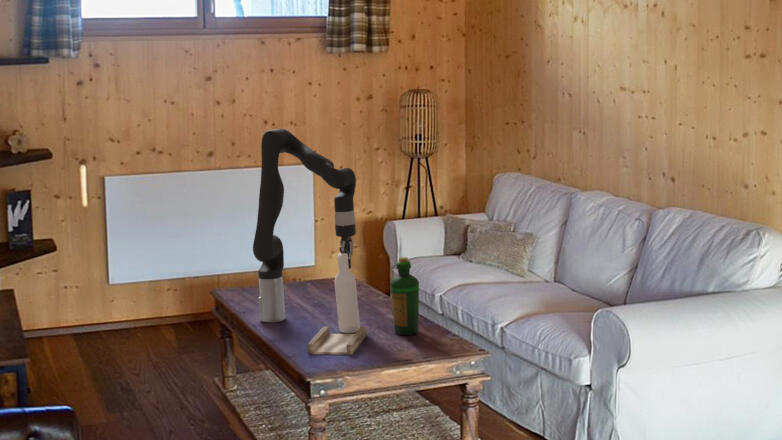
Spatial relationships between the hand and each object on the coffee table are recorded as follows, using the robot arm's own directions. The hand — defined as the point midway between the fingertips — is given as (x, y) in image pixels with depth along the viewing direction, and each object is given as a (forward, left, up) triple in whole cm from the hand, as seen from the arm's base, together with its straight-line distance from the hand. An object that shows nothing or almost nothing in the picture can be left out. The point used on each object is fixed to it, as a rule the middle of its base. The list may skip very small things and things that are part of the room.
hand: (347, 268), depth 401 cm
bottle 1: (0, -2, -23) cm, 23 cm away
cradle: (0, -20, -23) cm, 31 cm away
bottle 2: (+22, -4, -23) cm, 32 cm away
